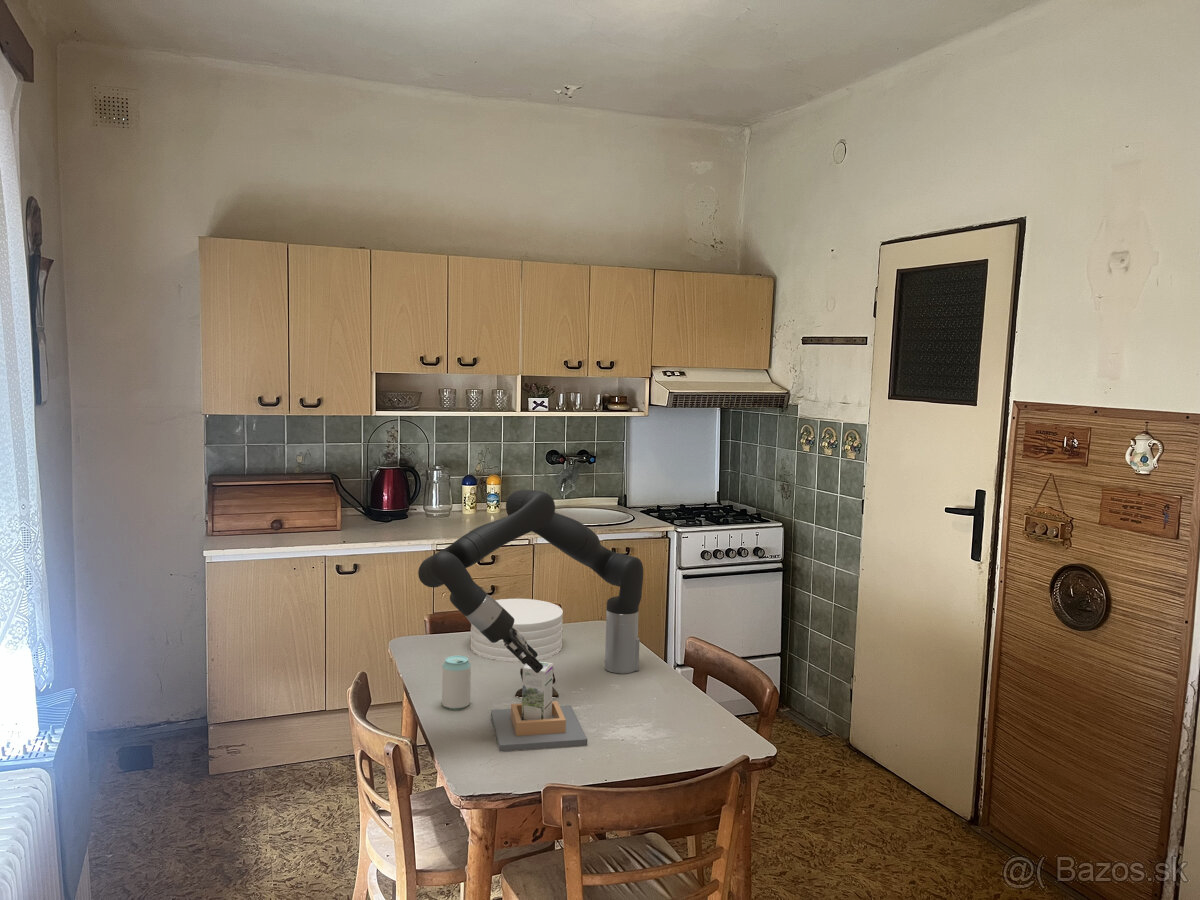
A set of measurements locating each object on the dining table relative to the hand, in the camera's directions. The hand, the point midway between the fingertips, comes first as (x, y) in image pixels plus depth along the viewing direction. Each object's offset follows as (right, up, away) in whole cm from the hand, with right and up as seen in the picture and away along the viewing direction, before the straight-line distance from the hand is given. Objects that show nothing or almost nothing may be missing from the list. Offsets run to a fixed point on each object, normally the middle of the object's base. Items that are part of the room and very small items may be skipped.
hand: (537, 663), depth 198 cm
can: (-22, -15, +15) cm, 30 cm away
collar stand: (0, -16, +2) cm, 16 cm away
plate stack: (-11, -11, +62) cm, 64 cm away
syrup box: (0, -15, +1) cm, 15 cm away
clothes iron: (-2, -14, +24) cm, 28 cm away
